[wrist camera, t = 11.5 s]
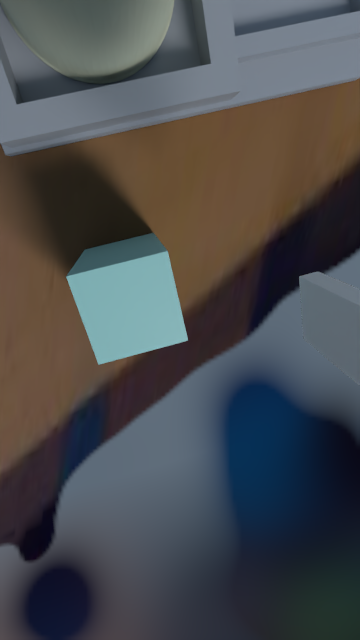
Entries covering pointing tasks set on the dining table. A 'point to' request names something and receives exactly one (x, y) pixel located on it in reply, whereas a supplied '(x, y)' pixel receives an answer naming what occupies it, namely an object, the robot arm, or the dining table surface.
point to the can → (91, 34)
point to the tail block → (127, 298)
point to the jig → (183, 70)
